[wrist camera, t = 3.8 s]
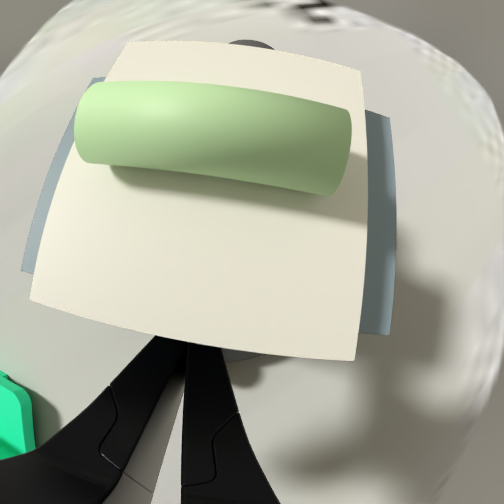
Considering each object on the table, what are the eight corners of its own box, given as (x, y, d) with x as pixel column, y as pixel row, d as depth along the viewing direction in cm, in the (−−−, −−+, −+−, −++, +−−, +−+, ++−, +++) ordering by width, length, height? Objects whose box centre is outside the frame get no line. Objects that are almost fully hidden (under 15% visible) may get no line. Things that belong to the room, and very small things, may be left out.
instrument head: (304, 332, 16) (486, 369, 3) (123, 302, 16) (-69, 268, 3) (321, 169, 18) (421, 7, 5) (161, 145, 18) (106, -32, 5)
